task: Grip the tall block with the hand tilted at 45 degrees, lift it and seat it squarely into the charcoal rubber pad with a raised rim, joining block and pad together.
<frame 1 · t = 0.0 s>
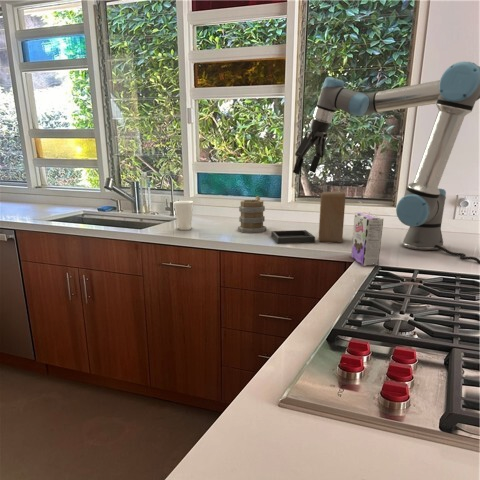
hand: (304, 172, 196), 28 cm above the countertop, tool tilted 20°, fingers open, 13 cm apart
candy box: (364, 262, 165), on the countertop
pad: (292, 239, 203), on the countertop
foam cup: (184, 229, 230), on the countertop
tankard: (254, 229, 228), on the countertop
block: (330, 240, 201), on the countertop
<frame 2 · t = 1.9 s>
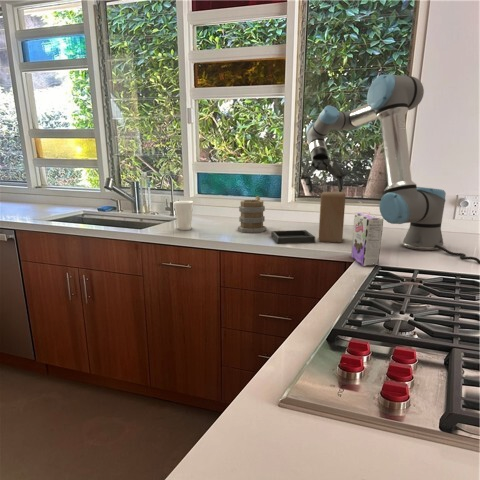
hand: (325, 190, 203), 20 cm above the countertop, tool tilted 45°, fingers open, 13 cm apart
nothing on the countertop moved.
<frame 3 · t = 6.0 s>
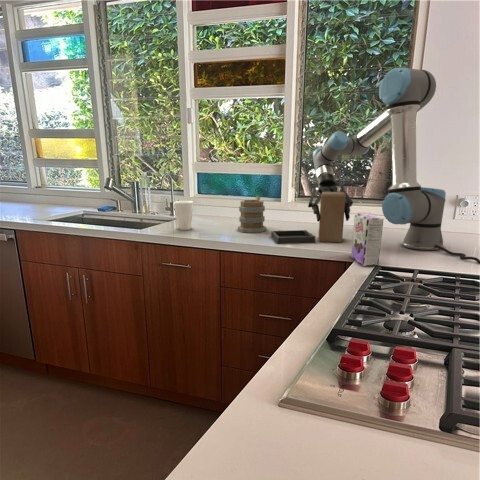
hand: (333, 219, 195), 9 cm above the countertop, tool tilted 45°, fingers closed on block, 12 cm apart
block: (330, 240, 201), on the countertop, touching gripper
everything else where it was.
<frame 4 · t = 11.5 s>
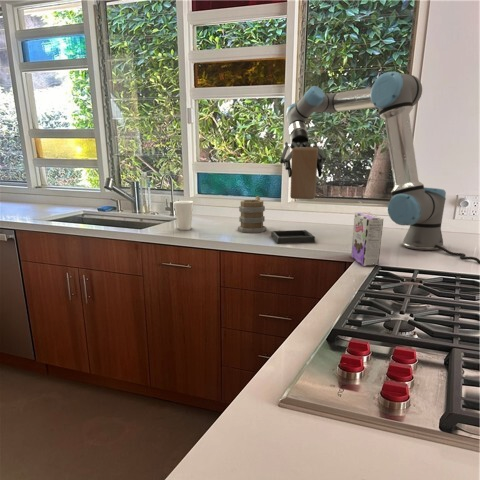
hand: (305, 175, 190), 27 cm above the countertop, tool tilted 45°, fingers closed on block, 12 cm apart
block: (303, 198, 196), point 18 cm above the countertop, touching gripper
everything else where it was.
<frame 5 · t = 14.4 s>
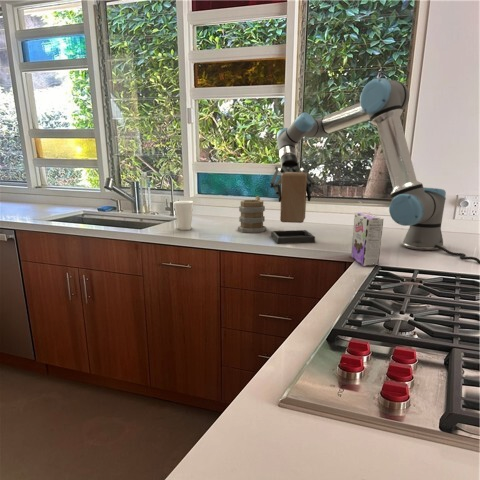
hand: (294, 199, 195), 17 cm above the countertop, tool tilted 45°, fingers closed on block, 12 cm apart
block: (292, 221, 200), point 8 cm above the countertop, touching gripper
everything else where it was.
when the fingers open (10 cm above the countertop, at t = 17.1 s): block stays where it is, resting on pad.
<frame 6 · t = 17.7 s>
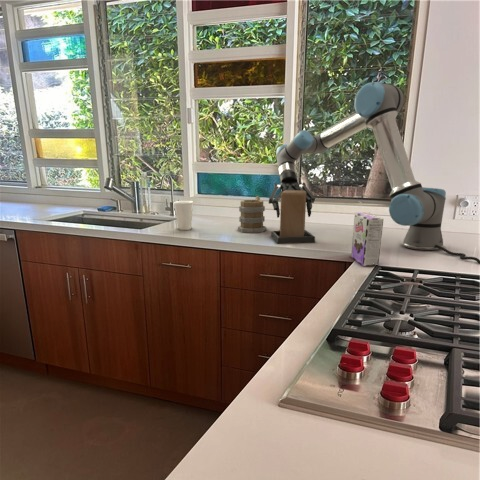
hand: (294, 215, 197), 11 cm above the countertop, tool tilted 45°, fingers open, 13 cm apart
block: (292, 238, 203), resting on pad
everything else where it was.
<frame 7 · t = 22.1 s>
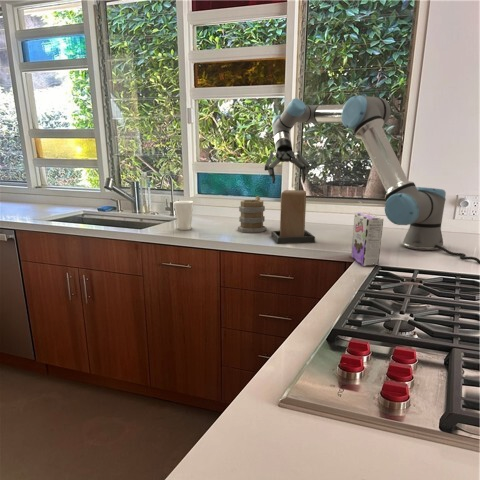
hand: (289, 181, 204), 24 cm above the countertop, tool tilted 45°, fingers open, 13 cm apart
nothing on the countertop moved.
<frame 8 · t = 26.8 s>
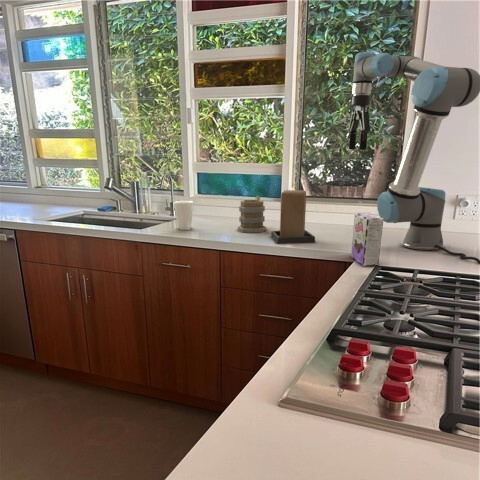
hand: (357, 149, 200), 37 cm above the countertop, tool pointing down, fingers open, 13 cm apart
nothing on the countertop moved.
at the end: block 0.1 cm off-centre in the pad, point 0.3 cm above the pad's base; block tilted 0°; the gripper is holding nothing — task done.
